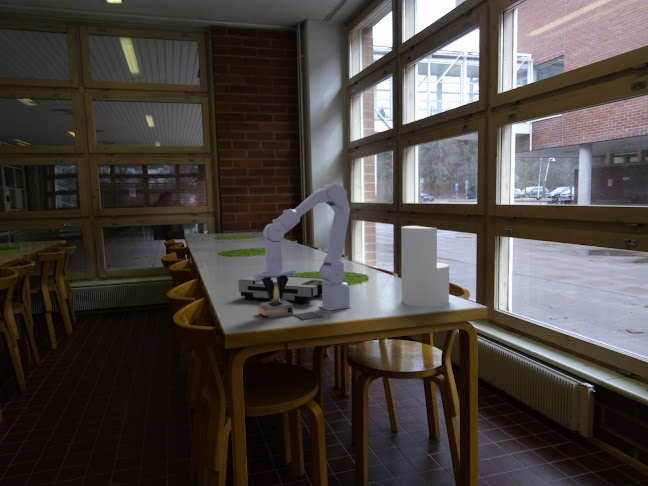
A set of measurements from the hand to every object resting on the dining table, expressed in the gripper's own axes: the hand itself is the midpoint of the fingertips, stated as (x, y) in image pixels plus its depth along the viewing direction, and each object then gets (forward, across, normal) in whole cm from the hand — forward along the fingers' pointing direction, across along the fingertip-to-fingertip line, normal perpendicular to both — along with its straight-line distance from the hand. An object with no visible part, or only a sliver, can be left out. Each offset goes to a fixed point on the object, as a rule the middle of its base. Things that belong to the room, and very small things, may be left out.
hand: (275, 298), depth 157 cm
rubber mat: (+5, +8, -8) cm, 13 cm away
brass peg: (+3, 0, 0) cm, 3 cm away
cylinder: (+6, +55, -12) cm, 57 cm away
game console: (+6, +14, +23) cm, 28 cm away
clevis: (+5, 0, 0) cm, 5 cm away
